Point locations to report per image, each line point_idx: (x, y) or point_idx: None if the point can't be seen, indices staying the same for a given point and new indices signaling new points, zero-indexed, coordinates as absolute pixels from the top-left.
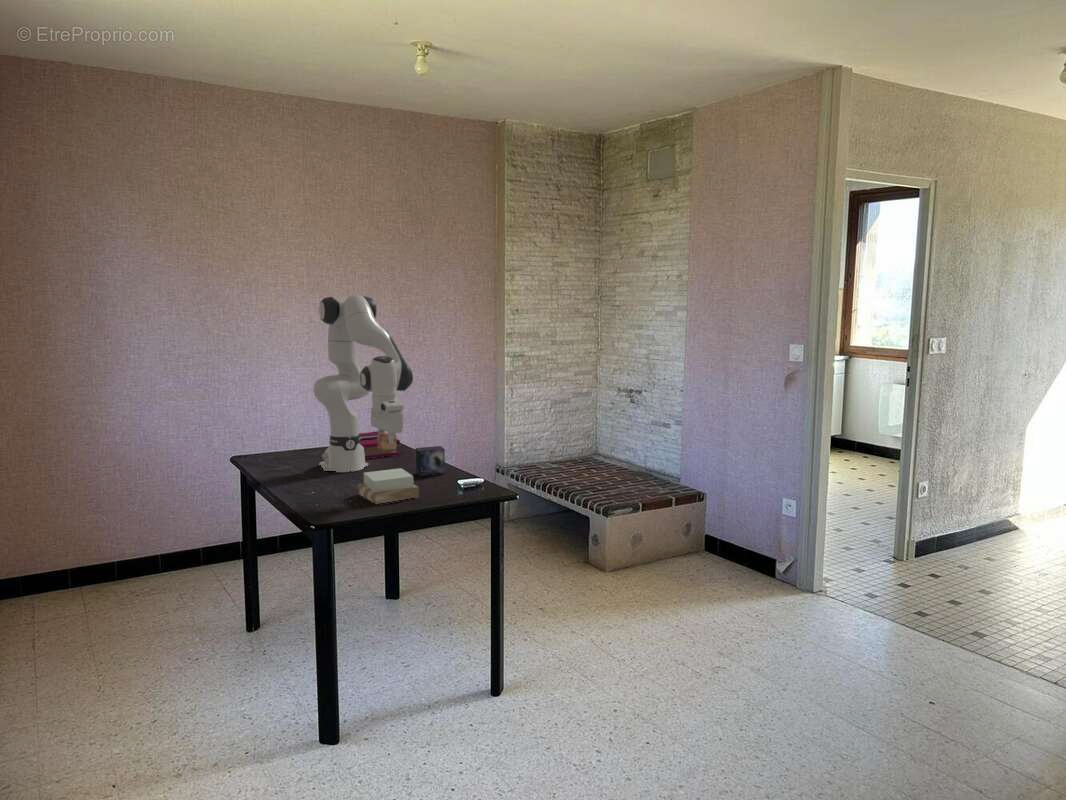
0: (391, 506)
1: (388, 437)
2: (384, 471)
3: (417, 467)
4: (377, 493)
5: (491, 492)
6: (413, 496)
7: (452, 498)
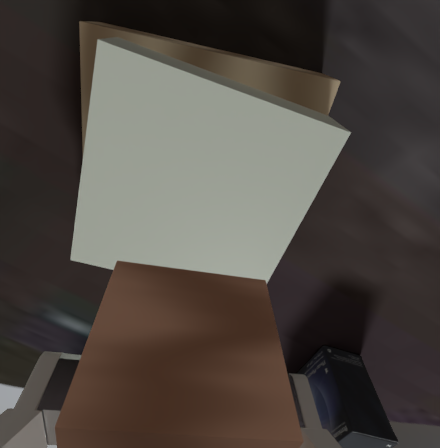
0: (33, 64)
1: (5, 436)
2: (269, 225)
3: (351, 371)
4: (87, 37)
5: (25, 366)
6: None
7: (21, 281)
